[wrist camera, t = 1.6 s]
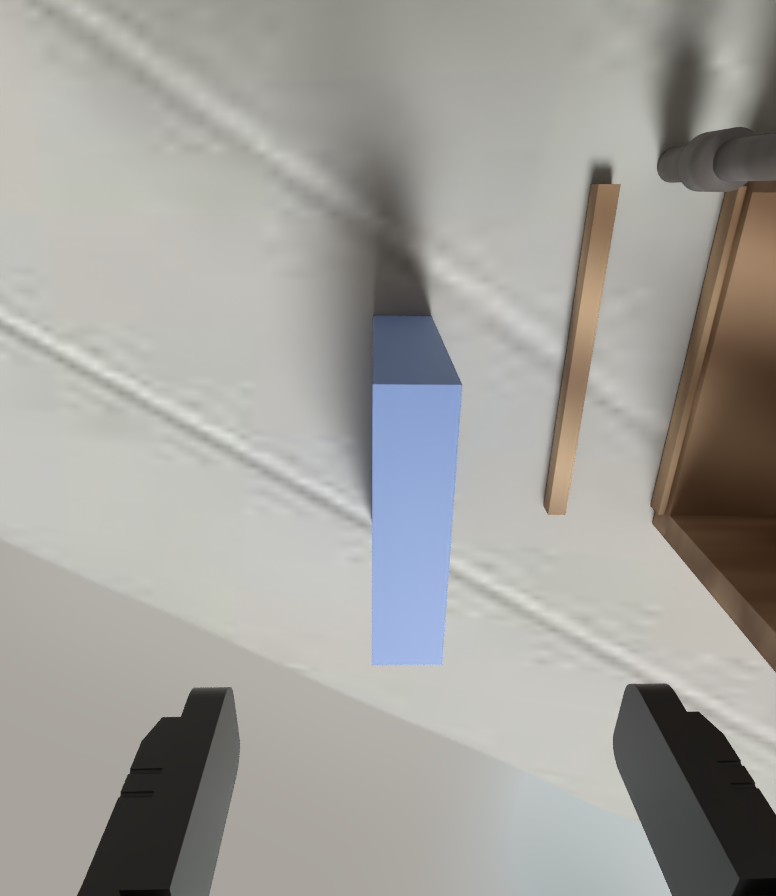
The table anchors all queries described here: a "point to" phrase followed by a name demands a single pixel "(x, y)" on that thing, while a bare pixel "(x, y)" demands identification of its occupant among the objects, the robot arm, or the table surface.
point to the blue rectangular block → (411, 488)
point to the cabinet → (705, 382)
